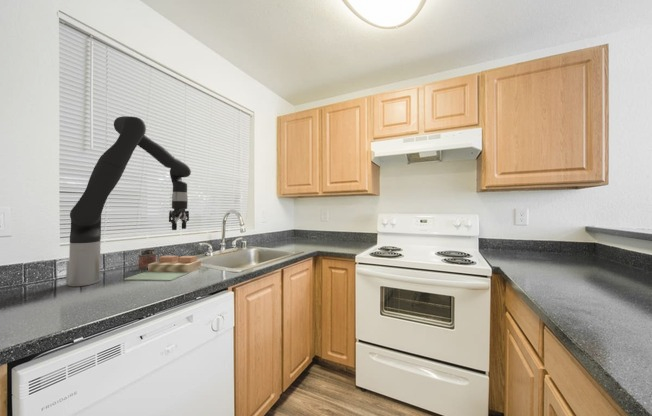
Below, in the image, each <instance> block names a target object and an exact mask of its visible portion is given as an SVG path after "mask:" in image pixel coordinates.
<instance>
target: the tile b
mask: <svg viewBox="0 0 652 416" xmlns="http://www.w3.org/2000/svg"><path fill="white" fill-rule="evenodd" d="M197 257H198V256H197V255H182V256H178V262H183V263H192V262H194V261H197V260H198V259H197Z"/></svg>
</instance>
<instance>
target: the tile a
mask: <svg viewBox="0 0 652 416" xmlns="http://www.w3.org/2000/svg"><path fill="white" fill-rule="evenodd" d="M178 257H179V255H167V254H165V255H163V256H159V257H158V261H159V262H175V261H178Z"/></svg>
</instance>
